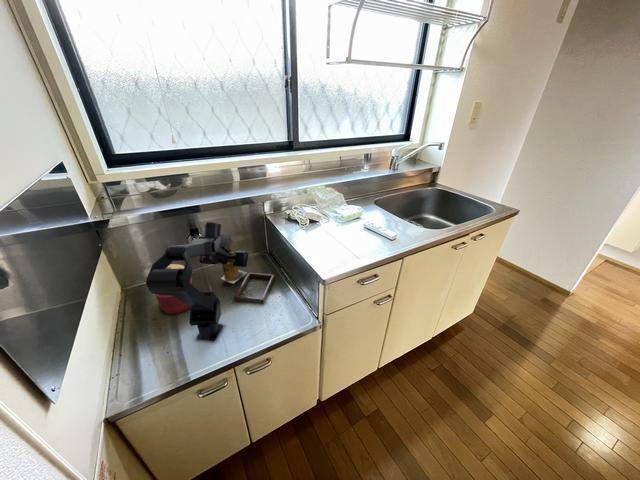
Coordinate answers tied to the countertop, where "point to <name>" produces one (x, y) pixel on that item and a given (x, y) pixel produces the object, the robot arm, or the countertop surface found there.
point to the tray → (254, 299)
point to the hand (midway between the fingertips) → (232, 261)
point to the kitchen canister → (172, 298)
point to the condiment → (231, 272)
